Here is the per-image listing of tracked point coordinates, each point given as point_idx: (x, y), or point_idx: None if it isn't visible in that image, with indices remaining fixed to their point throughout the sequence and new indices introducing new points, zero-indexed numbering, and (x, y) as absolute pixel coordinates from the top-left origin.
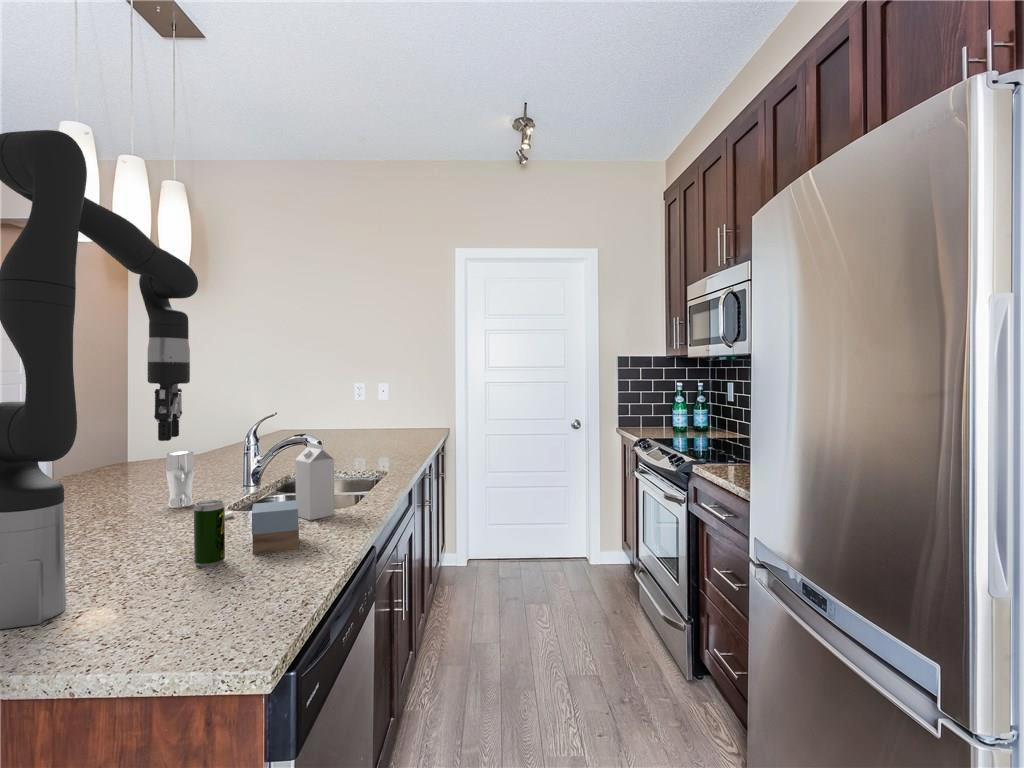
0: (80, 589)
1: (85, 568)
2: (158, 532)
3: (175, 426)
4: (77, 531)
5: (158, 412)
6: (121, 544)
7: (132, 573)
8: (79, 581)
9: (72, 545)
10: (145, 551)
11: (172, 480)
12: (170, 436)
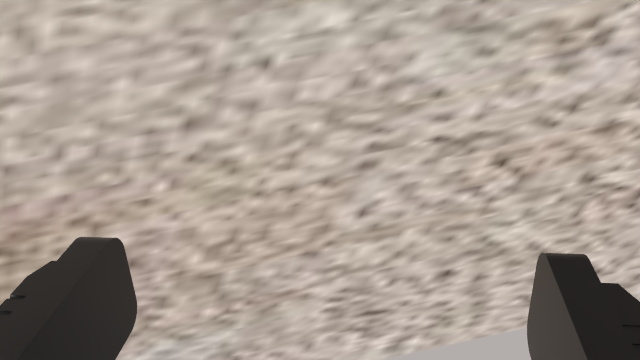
0: (631, 186)
1: (427, 219)
2: (68, 107)
3: (71, 330)
4: None
5: None
6: (197, 185)
7: (549, 87)
8: (551, 205)
9: (176, 297)
10: (304, 100)
11: None
12: (596, 274)
